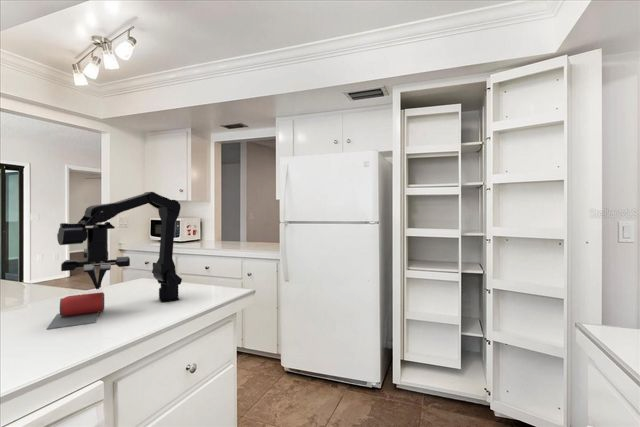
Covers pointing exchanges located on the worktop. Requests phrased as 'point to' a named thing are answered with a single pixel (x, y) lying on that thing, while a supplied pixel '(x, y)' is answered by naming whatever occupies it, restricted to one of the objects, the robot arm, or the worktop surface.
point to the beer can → (82, 304)
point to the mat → (72, 320)
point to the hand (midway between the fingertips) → (97, 289)
